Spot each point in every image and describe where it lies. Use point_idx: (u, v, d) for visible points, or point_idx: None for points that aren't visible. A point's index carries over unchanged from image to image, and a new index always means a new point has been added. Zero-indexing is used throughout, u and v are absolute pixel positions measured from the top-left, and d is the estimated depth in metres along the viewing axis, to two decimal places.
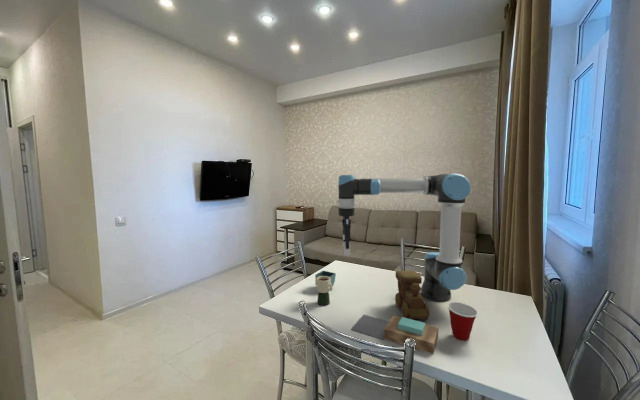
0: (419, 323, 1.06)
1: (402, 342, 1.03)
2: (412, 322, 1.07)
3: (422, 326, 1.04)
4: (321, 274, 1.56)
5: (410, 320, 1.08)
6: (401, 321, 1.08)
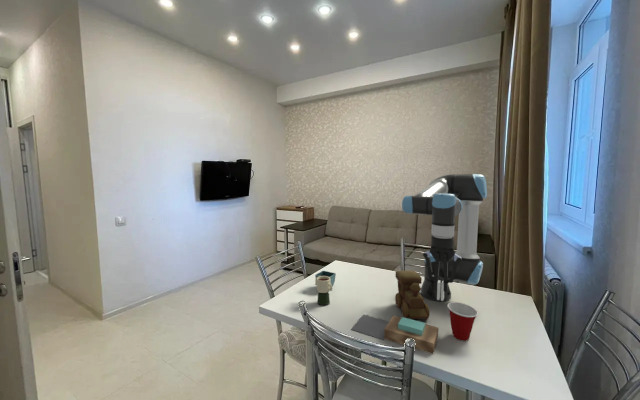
0: (419, 323, 1.06)
1: (402, 342, 1.03)
2: (412, 322, 1.07)
3: (422, 326, 1.04)
4: (321, 274, 1.56)
5: (410, 320, 1.08)
6: (401, 321, 1.08)
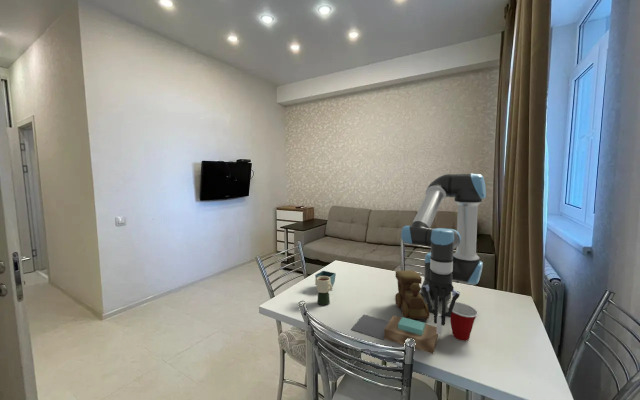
0: (419, 323, 1.06)
1: (402, 342, 1.03)
2: (412, 322, 1.07)
3: (422, 326, 1.04)
4: (321, 274, 1.56)
5: (410, 320, 1.08)
6: (401, 321, 1.08)
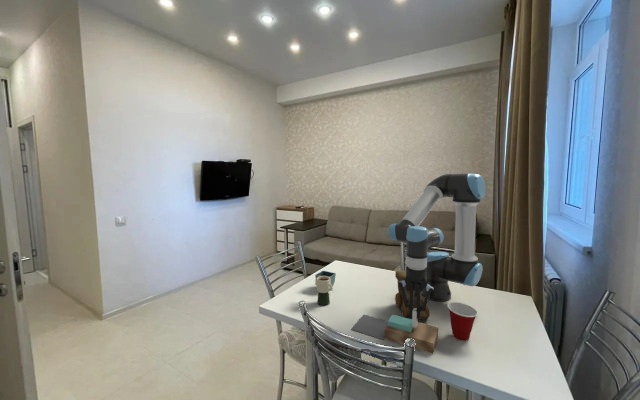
0: (408, 320, 1.08)
1: (402, 342, 1.03)
2: (401, 319, 1.09)
3: (411, 323, 1.06)
4: (321, 274, 1.56)
5: (400, 317, 1.10)
6: (391, 318, 1.10)
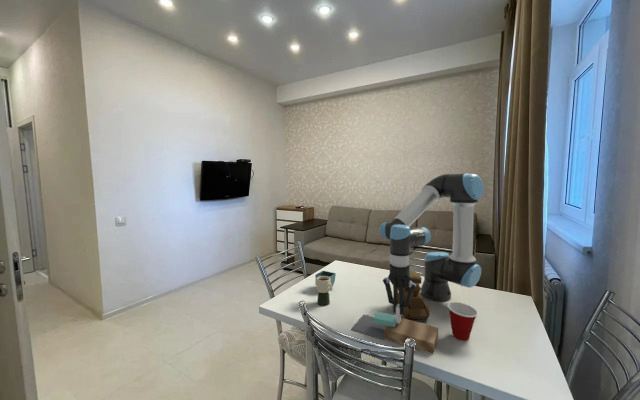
0: (392, 316, 1.11)
1: (402, 342, 1.03)
2: (386, 315, 1.12)
3: (395, 318, 1.09)
4: (321, 274, 1.56)
5: (384, 314, 1.14)
6: (376, 315, 1.13)
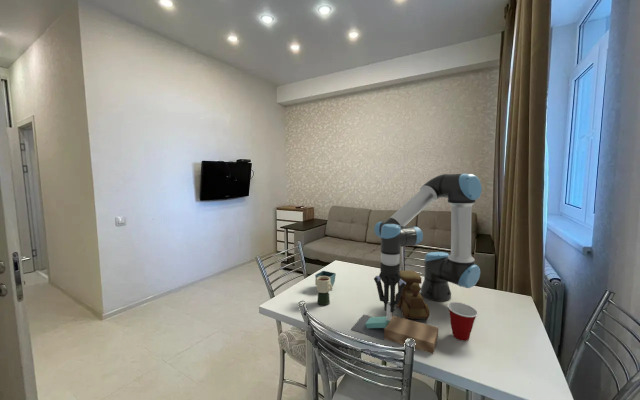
0: (384, 318, 1.13)
1: (402, 342, 1.03)
2: (378, 319, 1.14)
3: None
4: (321, 274, 1.56)
5: (377, 317, 1.16)
6: (368, 320, 1.15)
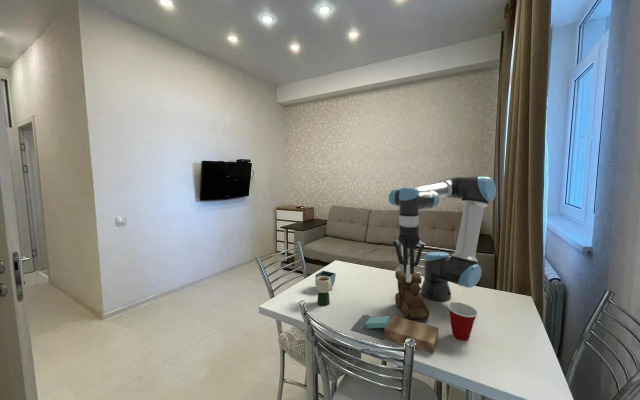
0: (384, 318, 1.13)
1: (402, 342, 1.03)
2: (378, 319, 1.14)
3: (386, 319, 1.11)
4: (321, 274, 1.56)
5: (377, 317, 1.16)
6: (368, 320, 1.15)
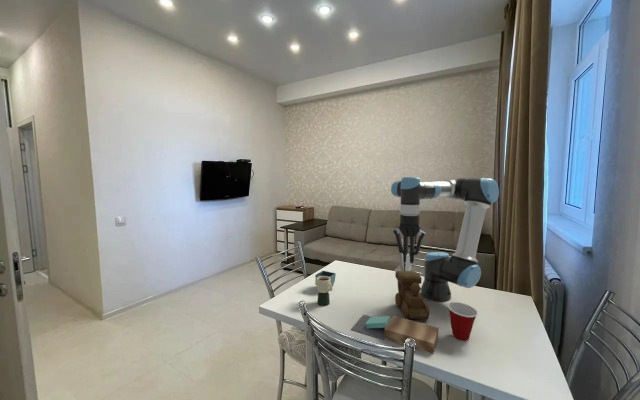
0: (384, 318, 1.13)
1: (402, 342, 1.03)
2: (378, 319, 1.14)
3: (386, 319, 1.11)
4: (321, 274, 1.56)
5: (377, 317, 1.16)
6: (368, 320, 1.15)
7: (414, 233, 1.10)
